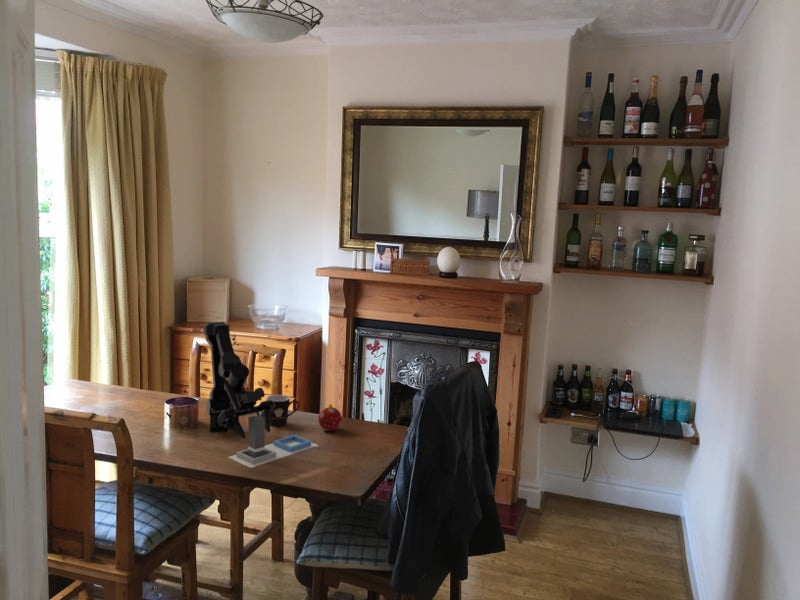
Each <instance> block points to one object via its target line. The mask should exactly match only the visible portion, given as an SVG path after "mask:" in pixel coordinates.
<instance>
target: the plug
mask: <svg viewBox="0 0 800 600" xmlns="http://www.w3.org/2000/svg"><path fill="white" fill-rule="evenodd" d="M265 433H266V430H265V418H264V417H261V416H259V415H257V414H256V415H254V416H253V415H252V416H250V417H248V445H247V449H248V450H246V451H245V454H246V455H248V456H250V457H252V458H257V457H260V456H263V455H266V454H268V451H266V450H265V446H266V445H265V437H266V436H265V435H266V434H265Z"/></svg>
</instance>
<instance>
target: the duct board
mask: <svg viewBox="0 0 800 600" xmlns="http://www.w3.org/2000/svg"><path fill="white" fill-rule="evenodd" d="M264 446H265V450H266V451H268V454H266V455H263V456H260V457H257V458H252V457H250V456H248V455H246V454H245V451H246V450H248V448H246V449H242V450H240V451H236V453H235V454H234V455H230V456H228V458H229V459H231V460H233V461H235V462H237V463H239V464H241V465H244V466H246V467H248V468H250V469H252V468H254V467H257V466H261V465H264V464H268V463H270V462H273V461H277V460H279V459H282V458H285V457H288V456H291V455H294V454H298V453H301V452H303V451H306V450H308V449H312V448H319V447H320V446H319V444H316V443H314V442H312V441H311V440H309V439H306V438H304V437H302V436H298V435H296V434H291V435H289V436H286V437H282V438H278V439H274V440H273V442H272V443H269V444H266V445H264ZM319 449H320V448H319Z"/></svg>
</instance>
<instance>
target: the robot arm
mask: <svg viewBox="0 0 800 600" xmlns="http://www.w3.org/2000/svg"><path fill="white" fill-rule="evenodd" d="M202 329H203V330H202V331H203V335H204V337H205V341H206V343H207V344H208V345H209V347H210V357H211V368H212V370H211V371H212V382H213V383H212V384H213V385H212V388H211V391H210V392H209V398H208V399H207V402H206V406H205V408H206V414H207V415H208V416H209V429H208V431H209V432H228V431H229V430H230V431H232V432H234V434H236V435H238V436H239V437H240V438H241V439H243V440H245V439H246V433H245V432H244V428H243V427H242V425H241V422H240V419H239V418H240V417H244V416H248V415H251V414H252V415H253V414H256V416H257V415H259V416H261V417H264V418H265V432H267V433H270V432H271V425H270V422H269V414H270V412H271V411H272V409H273V408H274V407H275V405H274V403H273V401H272V400H267V399H266V400H263V401H262V398H263V397H265V394H266V393H265V391H264V389H263V388H262V387H257V388H255V389H254V391H250V390H247V389H246V387H245V385H246V383H247V380H248V377H249V375H250V370H249V367H248V366H247V365H245V364H244V363H243V362H242V361H241V358H240V356H239V355H237V354H236V353H235V350H234V347H233V343H232V340H231V335H230V334H231V333H230V331H231V330H230V324H226V322H225V321H213V322H211V321H209V322H208V321H207V322H206V325H203V328H202ZM258 401H260V403H259V404H258ZM257 404H258V405H257ZM256 405H257V406H256Z"/></svg>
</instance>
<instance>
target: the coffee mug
mask: <svg viewBox="0 0 800 600" xmlns="http://www.w3.org/2000/svg"><path fill="white" fill-rule="evenodd" d="M267 400H272V401H273V403H274V405H275V407H274V408H273V409H272V411H271V412H270V414H269V422H270V427H275V426H278V428H279V427H284V426H286V425H287V424H288V423H287V422H288V418H289V416H291V415H293V414H294V413H295V412H297V411H298V410H299V408H300V402H299V401H298V400H295V399H294V400H292V401H290V400H291V397H290V396H288V395H286V394H273V395H269V396H267V397H266V401H267ZM293 403H296V404H297V405H298V406H297V407H296V409H294V410H293V411H291V412H290V413H289V408H290V406H291V405H292V404H293Z"/></svg>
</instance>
